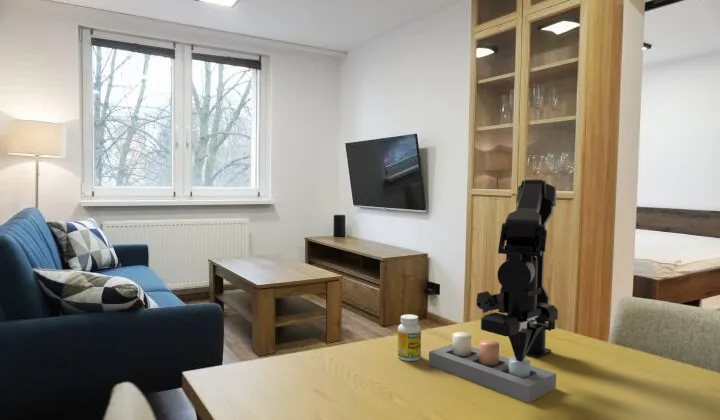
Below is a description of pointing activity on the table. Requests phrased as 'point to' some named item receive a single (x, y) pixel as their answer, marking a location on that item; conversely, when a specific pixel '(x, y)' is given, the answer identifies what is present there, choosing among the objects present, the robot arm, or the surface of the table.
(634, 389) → the table surface
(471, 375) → the grey socket tray
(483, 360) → the peach rounded piece
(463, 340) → the white short cylinder
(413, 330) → the supplement bottle
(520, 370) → the slate button
